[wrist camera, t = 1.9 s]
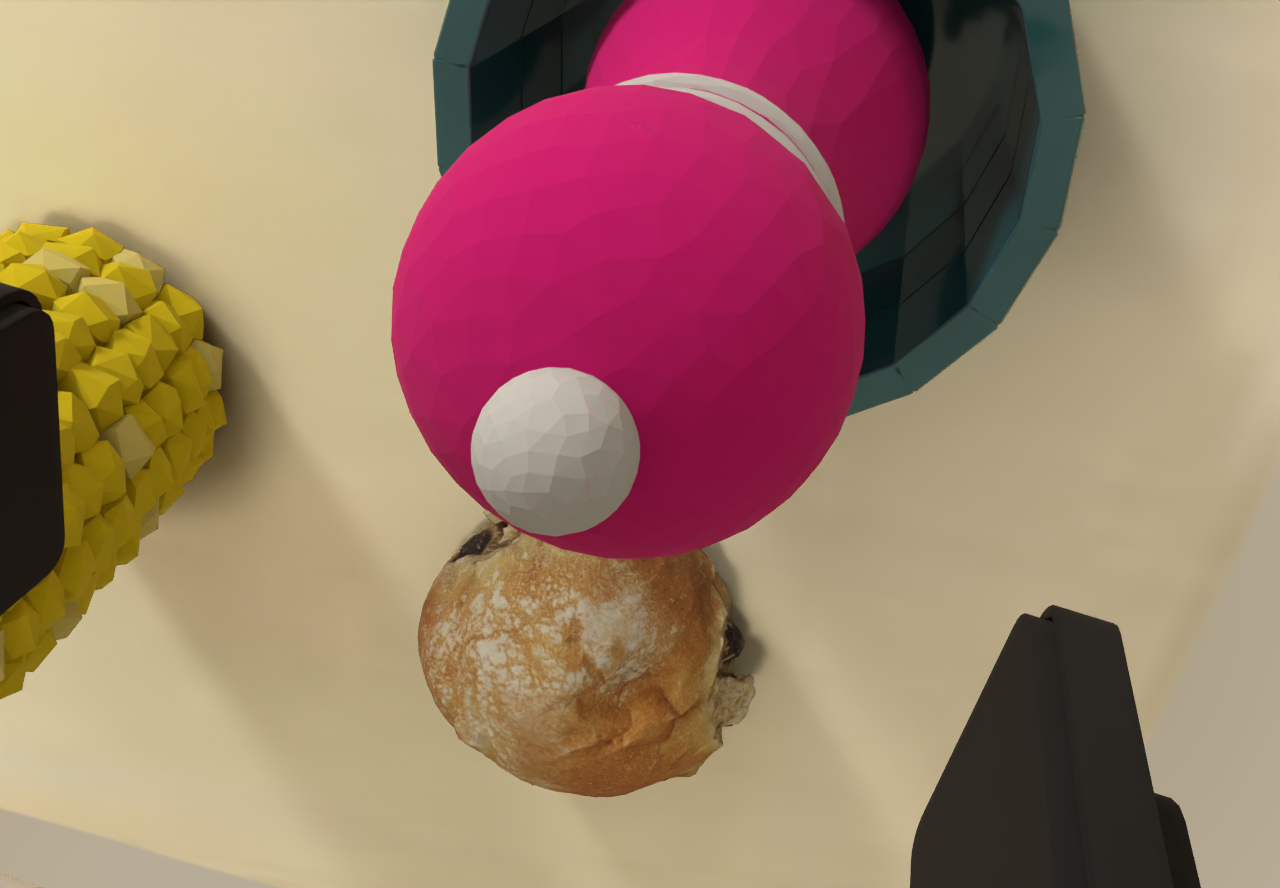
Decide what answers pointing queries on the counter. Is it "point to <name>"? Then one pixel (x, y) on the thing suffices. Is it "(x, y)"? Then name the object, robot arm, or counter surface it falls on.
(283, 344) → the counter surface
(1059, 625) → the robot arm
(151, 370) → the food
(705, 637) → the bread roll
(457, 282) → the pepper mill
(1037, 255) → the pot
